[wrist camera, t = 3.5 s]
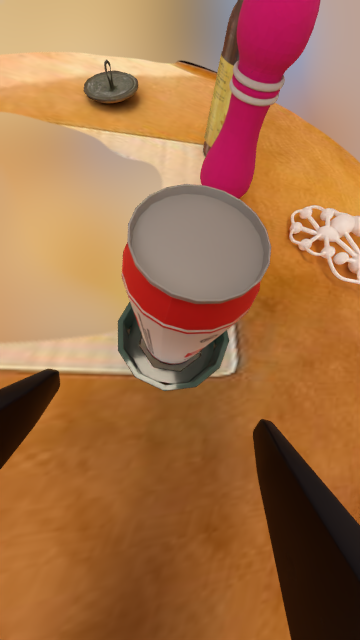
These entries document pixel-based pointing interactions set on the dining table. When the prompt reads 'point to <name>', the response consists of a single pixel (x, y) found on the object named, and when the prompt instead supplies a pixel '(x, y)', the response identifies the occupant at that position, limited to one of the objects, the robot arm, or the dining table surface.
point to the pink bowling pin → (256, 85)
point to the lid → (111, 86)
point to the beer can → (192, 267)
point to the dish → (154, 376)
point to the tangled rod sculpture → (331, 237)
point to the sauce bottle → (223, 80)
